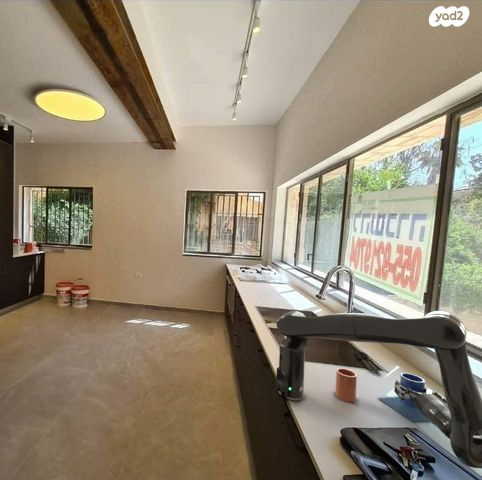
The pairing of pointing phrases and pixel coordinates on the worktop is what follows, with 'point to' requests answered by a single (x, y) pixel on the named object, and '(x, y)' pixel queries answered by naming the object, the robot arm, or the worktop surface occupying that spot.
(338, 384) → the terracotta cup
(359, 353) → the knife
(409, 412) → the blue mat
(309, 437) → the worktop surface
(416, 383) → the blue cup
